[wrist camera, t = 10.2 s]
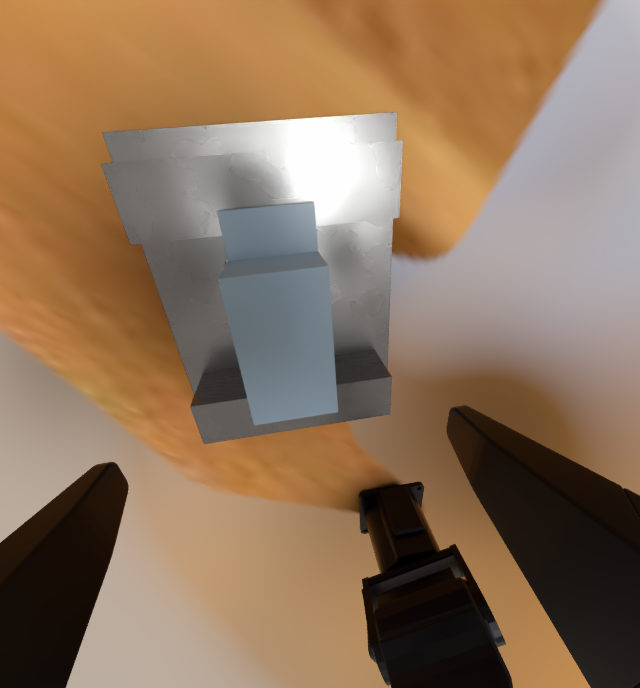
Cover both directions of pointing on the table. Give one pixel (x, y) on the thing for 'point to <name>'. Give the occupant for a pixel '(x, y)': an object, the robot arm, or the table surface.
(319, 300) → the block
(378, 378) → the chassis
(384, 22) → the table surface
